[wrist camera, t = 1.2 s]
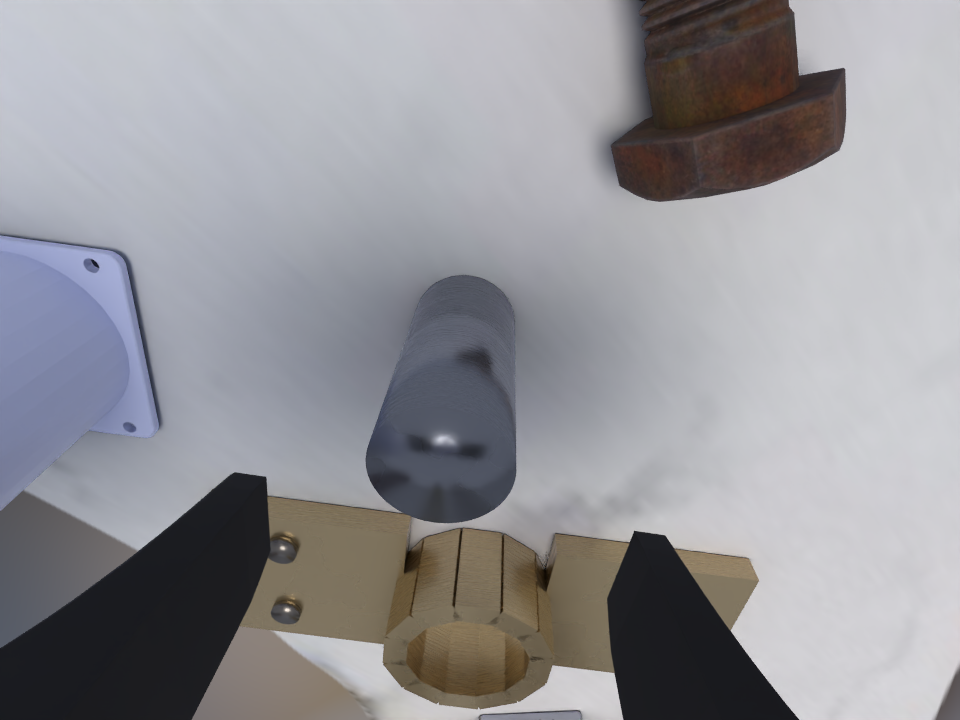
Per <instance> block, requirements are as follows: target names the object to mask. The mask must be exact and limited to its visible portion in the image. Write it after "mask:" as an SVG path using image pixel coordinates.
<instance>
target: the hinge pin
mask: <svg viewBox="0 0 960 720" xmlns="http://www.w3.org/2000/svg"><path fill="white" fill-rule="evenodd" d="M366 468H367V473H368V476H369V478H370V481H371V483H372V485H373V486H374V488H375V489H376V491H377V492H378V493H379V495H380V496H381V497H382V498H383V499H384V500H385V501H386V502H388V503H389V504H390V505H391V506H393V507H394V508H396V509H397V510H399V511H401V512H403V513H405V514H407V515H409V516H412V517H414V518H417V519H421V520H424V521H430V522H436V523H457V522H464V521H468V520H472V519H475V518H478V517H481V516H483V515H485V514H487V513H489V512H490V511H492V510H494V509H495V508H496V507H497V506H499V505H500V504H501V503H502V502H503V501H504V500H505V499H506V497H507V496H508V494H509V493H510V491H511V489H512V487H513V484H514V481H515V477H516V412H515V329H514V313H513V309H512V307H511V304H510V302H509V300H508V299H507V297H506V296H505V294H504V293H503V292H502V291H501V290H500V289H499V288H497V287H496V286H495V285H493V284H492V283H490V282H488V281H486V280H484V279H481V278H478V277H474V276H466V275H460V276H452V277H448V278H445V279H443V280H441V281H438V282H437V283H435V284H434V285H432V286H431V287H430V288H429V289H428V290H427V291H426V292H425V293H424V295H423V296H422V298H421V299H420V301H419V304H418V306H417V309H416V312H415V315H414V318H413V320H412V323H411V326H410V329H409V332H408V335H407V337H406V340H405V343H404V346H403V349H402V352H401V354H400V357H399V360H398V363H397V366H396V368H395V371H394V374H393V377H392V380H391V383H390V385H389V388H388V391H387V394H386V397H385V400H384V402H383V405H382V408H381V411H380V414H379V417H378V419H377V422H376V425H375V428H374V431H373V434H372V436H371V439H370V442H369V445H368V448H367V452H366Z"/></svg>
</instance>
